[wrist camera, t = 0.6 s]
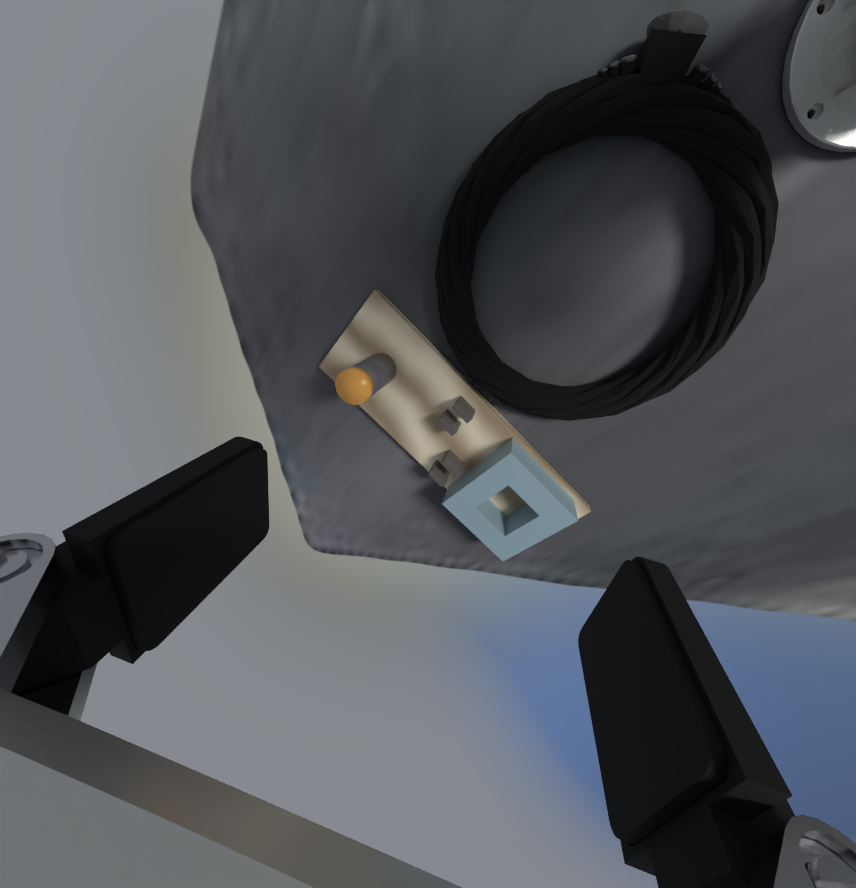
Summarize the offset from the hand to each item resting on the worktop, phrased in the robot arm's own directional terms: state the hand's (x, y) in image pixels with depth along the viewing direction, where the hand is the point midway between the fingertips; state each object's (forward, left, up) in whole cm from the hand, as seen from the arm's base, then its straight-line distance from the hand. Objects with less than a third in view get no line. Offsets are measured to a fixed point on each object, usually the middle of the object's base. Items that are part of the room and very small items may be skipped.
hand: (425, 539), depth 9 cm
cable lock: (-10, 0, -33) cm, 34 cm away
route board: (+12, +5, -32) cm, 35 cm away
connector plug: (+12, -7, -31) cm, 34 cm away
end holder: (+12, +15, -31) cm, 36 cm away
